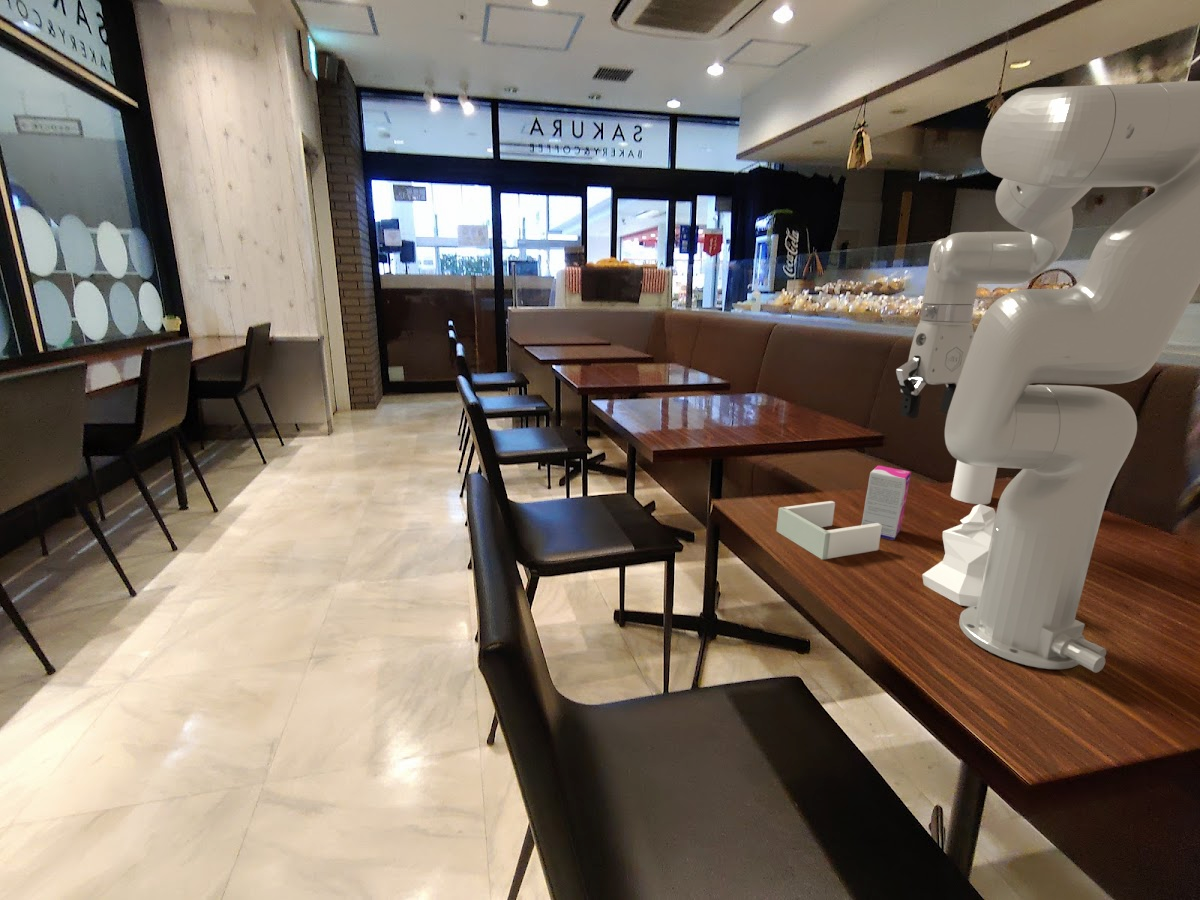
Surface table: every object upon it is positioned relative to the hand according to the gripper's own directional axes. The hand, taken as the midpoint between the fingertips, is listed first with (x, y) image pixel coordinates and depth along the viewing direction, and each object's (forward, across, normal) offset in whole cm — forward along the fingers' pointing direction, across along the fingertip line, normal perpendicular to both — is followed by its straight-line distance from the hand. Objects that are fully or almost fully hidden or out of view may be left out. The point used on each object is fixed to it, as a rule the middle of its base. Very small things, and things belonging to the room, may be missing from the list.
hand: (929, 414), depth 102 cm
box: (+21, -20, 0) cm, 29 cm away
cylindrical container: (+21, +24, +6) cm, 33 cm away
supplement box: (+21, -8, -1) cm, 23 cm away
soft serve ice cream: (+21, -13, -23) cm, 33 cm away
